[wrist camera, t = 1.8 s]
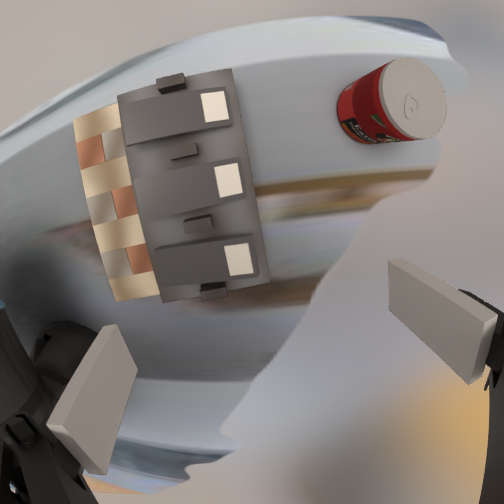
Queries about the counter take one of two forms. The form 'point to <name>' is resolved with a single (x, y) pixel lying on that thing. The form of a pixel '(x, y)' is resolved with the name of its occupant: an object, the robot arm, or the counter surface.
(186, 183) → the rocker middle
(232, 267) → the rocker
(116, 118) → the switch unit
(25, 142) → the counter surface
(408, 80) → the canned food
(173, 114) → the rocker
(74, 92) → the counter surface
